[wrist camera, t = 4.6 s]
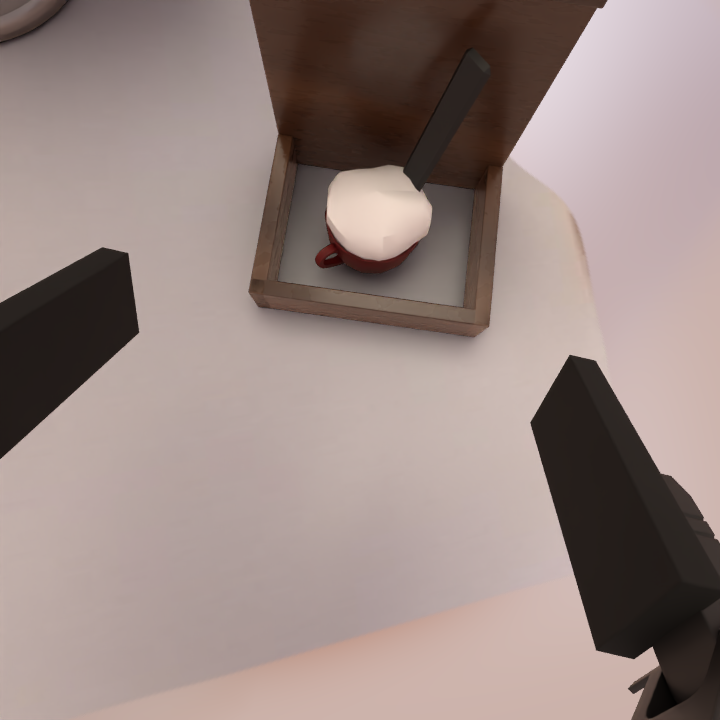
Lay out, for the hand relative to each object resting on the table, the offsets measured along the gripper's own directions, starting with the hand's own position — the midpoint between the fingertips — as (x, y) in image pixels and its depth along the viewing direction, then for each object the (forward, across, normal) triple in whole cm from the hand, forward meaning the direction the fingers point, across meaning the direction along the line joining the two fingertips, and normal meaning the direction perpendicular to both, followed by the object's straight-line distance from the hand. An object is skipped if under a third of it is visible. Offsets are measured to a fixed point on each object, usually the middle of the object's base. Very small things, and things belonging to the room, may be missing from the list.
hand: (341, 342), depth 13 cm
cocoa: (+19, 0, -3) cm, 19 cm away
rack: (+19, 0, -3) cm, 19 cm away
